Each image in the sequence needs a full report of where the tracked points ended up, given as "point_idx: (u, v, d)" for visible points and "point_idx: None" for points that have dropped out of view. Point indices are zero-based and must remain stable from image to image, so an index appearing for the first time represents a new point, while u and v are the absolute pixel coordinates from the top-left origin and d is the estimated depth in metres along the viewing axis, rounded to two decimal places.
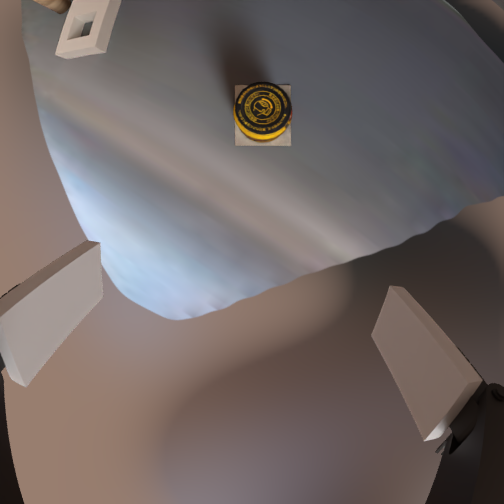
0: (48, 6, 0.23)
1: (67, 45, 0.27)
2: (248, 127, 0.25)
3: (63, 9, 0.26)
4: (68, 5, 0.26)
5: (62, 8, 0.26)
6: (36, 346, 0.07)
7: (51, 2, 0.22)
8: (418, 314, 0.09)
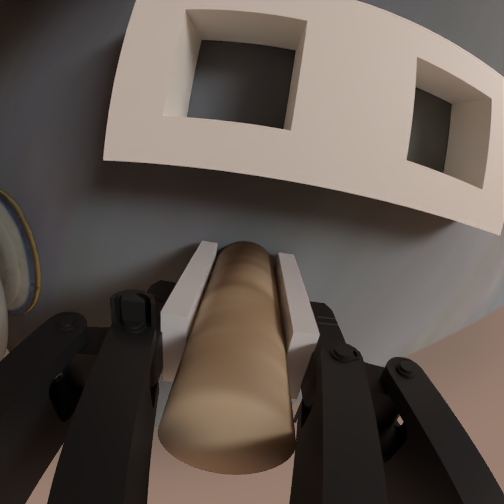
0: None
1: (497, 184, 0.09)
2: None
3: (271, 263, 0.13)
4: (253, 246, 0.14)
5: (270, 265, 0.13)
6: None
7: (276, 304, 0.10)
8: (287, 274, 0.11)
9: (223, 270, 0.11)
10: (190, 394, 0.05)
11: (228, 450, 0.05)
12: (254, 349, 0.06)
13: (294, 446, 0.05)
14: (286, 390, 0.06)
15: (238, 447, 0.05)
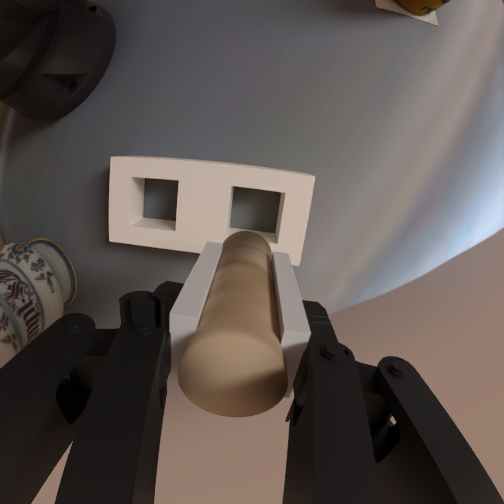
0: None
1: (290, 239, 0.25)
2: None
3: (269, 249, 0.15)
4: (253, 234, 0.16)
5: (268, 250, 0.15)
6: None
7: (272, 280, 0.12)
8: (281, 273, 0.11)
9: (227, 253, 0.13)
10: (205, 336, 0.07)
11: (234, 388, 0.07)
12: (254, 306, 0.09)
13: (287, 383, 0.07)
14: None
15: (242, 384, 0.07)
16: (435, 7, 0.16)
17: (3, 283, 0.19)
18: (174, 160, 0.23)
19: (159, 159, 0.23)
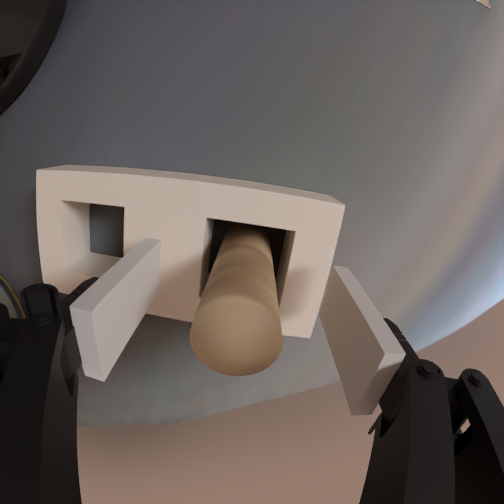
0: None
1: (299, 302, 0.16)
2: None
3: (267, 238, 0.17)
4: (253, 225, 0.17)
5: (267, 239, 0.17)
6: (114, 340, 0.08)
7: (270, 262, 0.14)
8: (352, 290, 0.11)
9: (230, 240, 0.15)
10: (213, 299, 0.09)
11: (237, 346, 0.09)
12: (254, 278, 0.10)
13: (281, 341, 0.09)
14: (275, 305, 0.10)
15: (244, 342, 0.09)
16: None
17: None
18: (117, 174, 0.14)
19: (96, 173, 0.14)
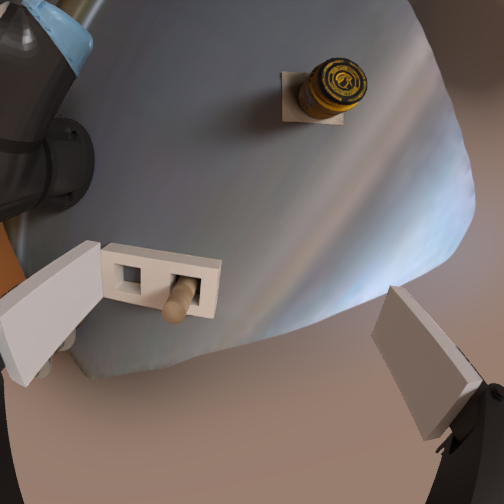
0: (193, 294, 0.39)
1: (206, 304, 0.41)
2: (363, 94, 0.24)
3: (196, 278, 0.42)
4: None
5: (195, 278, 0.42)
6: (36, 346, 0.07)
7: (190, 289, 0.39)
8: (418, 314, 0.09)
9: (179, 280, 0.40)
10: (167, 302, 0.34)
11: (173, 314, 0.34)
12: (179, 296, 0.35)
13: (184, 313, 0.34)
14: (185, 304, 0.35)
15: (175, 313, 0.34)
16: (333, 116, 0.32)
17: None
18: (137, 256, 0.39)
19: (128, 254, 0.39)
